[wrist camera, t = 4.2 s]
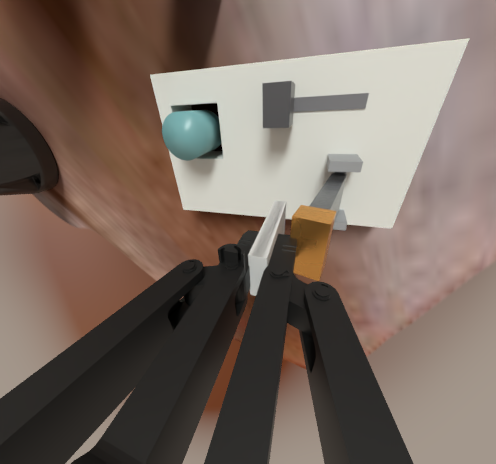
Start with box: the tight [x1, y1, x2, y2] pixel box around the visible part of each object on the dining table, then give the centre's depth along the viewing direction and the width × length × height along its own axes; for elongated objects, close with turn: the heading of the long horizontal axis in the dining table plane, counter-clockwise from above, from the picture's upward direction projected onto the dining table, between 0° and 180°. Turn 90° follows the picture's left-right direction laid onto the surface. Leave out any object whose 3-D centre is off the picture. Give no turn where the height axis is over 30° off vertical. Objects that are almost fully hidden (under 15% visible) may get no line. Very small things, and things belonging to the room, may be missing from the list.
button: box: [162, 110, 222, 161], centre depth 20 cm, size 4×4×5 cm
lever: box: [290, 172, 347, 281], centre depth 15 cm, size 2×4×10 cm, turn 3°
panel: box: [150, 38, 469, 231], centre depth 20 cm, size 24×14×7 cm, turn 93°
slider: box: [262, 81, 295, 128], centre depth 15 cm, size 2×3×3 cm
